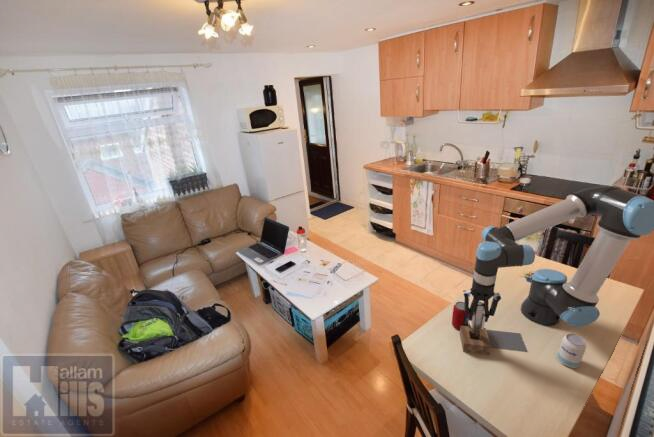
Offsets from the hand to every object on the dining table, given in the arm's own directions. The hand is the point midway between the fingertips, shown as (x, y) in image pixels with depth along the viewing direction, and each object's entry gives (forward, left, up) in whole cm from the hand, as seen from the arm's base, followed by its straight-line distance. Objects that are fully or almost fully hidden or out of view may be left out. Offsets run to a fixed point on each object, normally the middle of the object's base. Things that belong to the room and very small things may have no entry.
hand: (476, 326), depth 123 cm
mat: (-13, -4, -10) cm, 17 cm away
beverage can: (+4, -10, -11) cm, 15 cm away
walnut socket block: (0, 0, -10) cm, 10 cm away
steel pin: (0, 0, -3) cm, 3 cm away
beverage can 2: (-33, +3, -11) cm, 35 cm away
